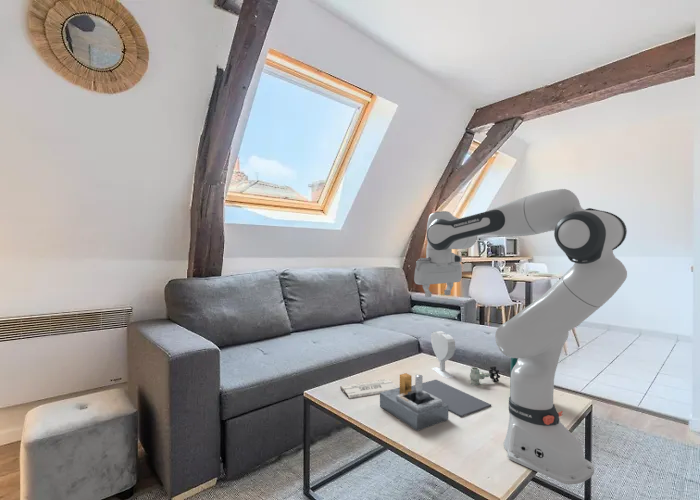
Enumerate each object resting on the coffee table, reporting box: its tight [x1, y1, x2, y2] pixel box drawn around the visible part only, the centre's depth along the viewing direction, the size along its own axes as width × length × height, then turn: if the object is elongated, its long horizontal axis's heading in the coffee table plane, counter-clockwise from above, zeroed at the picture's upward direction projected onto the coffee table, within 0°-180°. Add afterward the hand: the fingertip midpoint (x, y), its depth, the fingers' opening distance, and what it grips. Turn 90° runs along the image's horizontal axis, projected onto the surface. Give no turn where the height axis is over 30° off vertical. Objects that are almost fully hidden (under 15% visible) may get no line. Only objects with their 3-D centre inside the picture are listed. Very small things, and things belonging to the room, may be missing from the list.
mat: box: [412, 379, 492, 418], centre depth 141 cm, size 28×16×1 cm, turn 31°
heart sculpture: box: [430, 330, 456, 379], centre depth 167 cm, size 16×5×18 cm, turn 15°
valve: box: [469, 366, 501, 386], centre depth 155 cm, size 7×7×12 cm
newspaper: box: [339, 379, 399, 400], centre depth 148 cm, size 23×12×2 cm, turn 110°
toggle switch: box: [379, 374, 449, 431], centre depth 128 cm, size 20×14×14 cm
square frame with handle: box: [396, 372, 442, 412], centre depth 126 cm, size 14×11×7 cm
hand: (438, 295), depth 130 cm, fingers open, 8 cm apart
